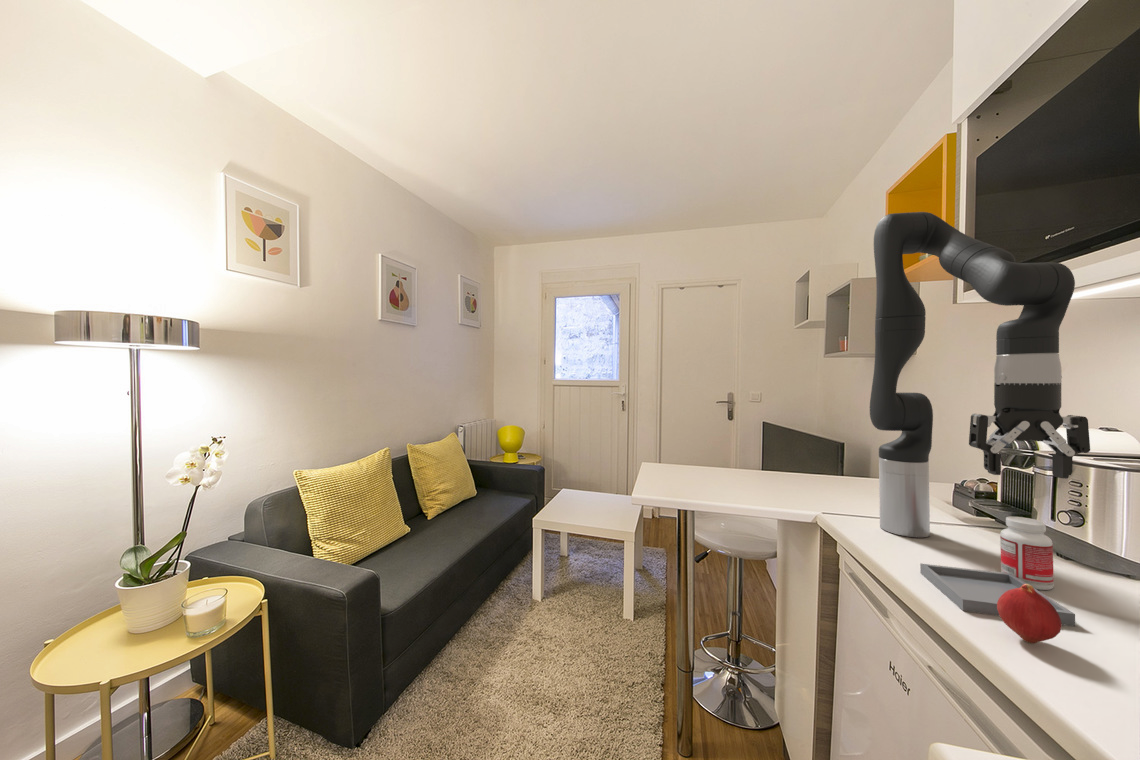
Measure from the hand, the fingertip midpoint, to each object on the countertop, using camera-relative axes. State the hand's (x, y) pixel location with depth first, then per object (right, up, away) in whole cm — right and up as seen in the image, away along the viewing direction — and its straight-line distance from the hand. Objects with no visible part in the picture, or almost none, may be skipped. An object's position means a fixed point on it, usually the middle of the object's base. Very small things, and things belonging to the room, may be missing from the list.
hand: (1026, 475), depth 68 cm
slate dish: (-8, -20, -2) cm, 21 cm away
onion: (-15, -20, -13) cm, 28 cm away
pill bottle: (+3, -20, +3) cm, 20 cm away
